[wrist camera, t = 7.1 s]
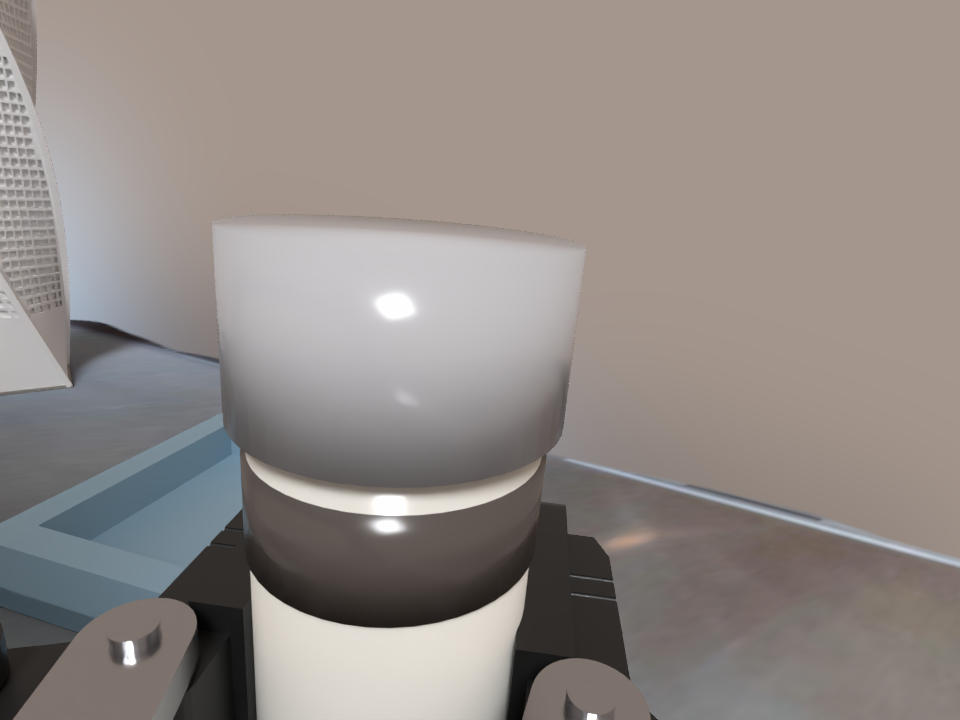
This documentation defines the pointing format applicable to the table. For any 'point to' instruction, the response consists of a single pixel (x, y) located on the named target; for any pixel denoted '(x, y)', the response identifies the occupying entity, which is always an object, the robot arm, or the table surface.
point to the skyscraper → (29, 224)
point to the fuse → (390, 451)
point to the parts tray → (121, 529)
